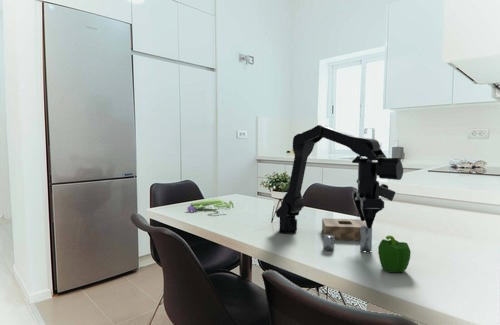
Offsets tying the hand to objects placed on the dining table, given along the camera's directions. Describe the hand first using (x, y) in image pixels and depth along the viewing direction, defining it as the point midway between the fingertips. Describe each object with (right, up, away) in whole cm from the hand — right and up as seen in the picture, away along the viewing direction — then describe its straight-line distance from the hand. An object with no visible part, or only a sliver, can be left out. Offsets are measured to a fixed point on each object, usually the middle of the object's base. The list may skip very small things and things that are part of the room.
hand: (366, 224), depth 104 cm
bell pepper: (+2, -10, -15) cm, 18 cm away
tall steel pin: (0, -9, 0) cm, 9 cm away
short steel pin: (-12, -9, +2) cm, 15 cm away
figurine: (-59, -5, +65) cm, 88 cm away
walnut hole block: (-2, -8, +18) cm, 20 cm away
